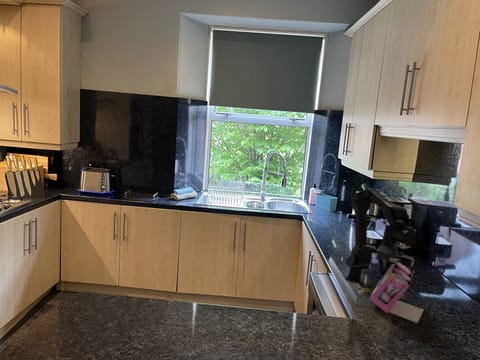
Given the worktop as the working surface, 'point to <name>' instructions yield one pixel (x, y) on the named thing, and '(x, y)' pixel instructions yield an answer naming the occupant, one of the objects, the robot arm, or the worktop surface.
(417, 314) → the mat
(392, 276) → the gum box
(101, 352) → the worktop surface
